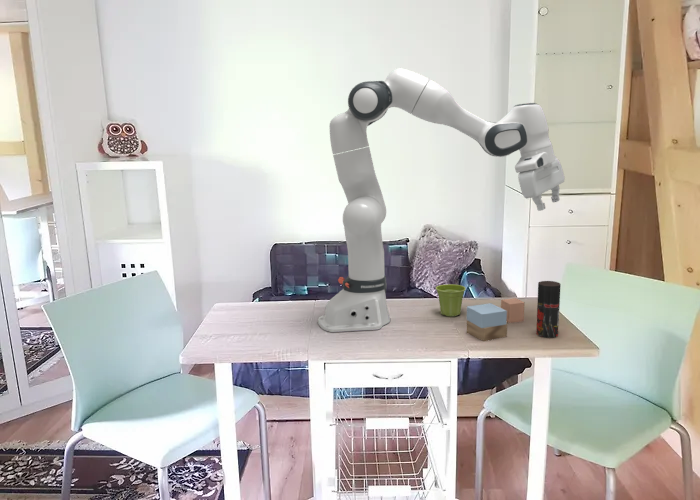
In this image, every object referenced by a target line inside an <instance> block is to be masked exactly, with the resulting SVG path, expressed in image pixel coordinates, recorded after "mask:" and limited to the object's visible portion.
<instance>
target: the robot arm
mask: <svg viewBox="0 0 700 500" xmlns="http://www.w3.org/2000/svg"><path fill="white" fill-rule="evenodd" d="M348 94H349V95H348V98H347V106H348V109H347V111H344V112H342V113H339V114H337V115H335V116H334V117H333V118H332V119H331V120H330V122H329V141H330V147H331V153H332V156H333V157H332V158H333V162H334V165H335V169H336V174H337V178H338V182H339V183H340V186H341V187H342V190H343V191H344V192H343V193H344V194H345V195H344V196H345V197H346V201H347V205H346V206H345V207H344V210H343V213H342V224H343V229H344V236H345V237H344V238H345V241H346V249H347V259H348V260H347V261H348V265H347V266H348V276H347V277H346V278H345V277H343V276H339V278H338V279H337V281H338V283H339V284H340V285H342V289H341V290H340V291H339V292H338V293H336V294H335V295H334V296H333V297H331V298H330V299H329V300H328V301H327V302H326V304H325V310H324V315H321V316H319V317H318V318H317V319H318V320H317V324H318V326H319V327H320V328H321V329H322V330H323V331H327V332H330V333H338V332H339V333H341V332H342V333H343V332H356V331H372V330H373V331H375V330H380V329H382V327H383V326H386V325H387V324H389V323H390V322H391V318H390V314H389V310H388V303H387V297H386V294H387V277H386V275H385V250H384V244H383V236H382V224H383V223H384V221H385V219H386V217H387V208H386V207H387V206H386V204H385V203H386V202H385V200H384V196H383V193H382V192H383V191H382V189H381V187H380V183H379V180H378V179H377V178H378V177H377V175H376V174H377V173H376V170H375V165H374V161H373V158H372V153H371V148H370V144H369V140H368V134H367V130H368V129H367V128H368V127H369V126H370V125H372V124H373V123H376V122H377V121H379V120H381V119H382V118H383V117H385V115H386V114H387V113H388V112H387V111H389V110H388V109H390V108H398V109H401V110H402V111H405V112H407V113H408V114H410V115H411V116H414V117H416V118H419V120H420V119H421V120H423V121H425V122H428V123H432V124H437V125H444V126H446V127H450V128H453V129H455V130H457V131H458V132H460V133H462V134H464V135H466V136H468V137H470V138H471V139H473V140H475V141H476V142H477V143H478V144H479V145H480V146H481V147H480V148H482V150H483V151H484V152H485V153H486V154H488V155H489V156H492V157H498V158H503V157H507V156H510V155H511V154H513V153H515V152H517V151H519V152H520V158H519V160H518V161H517V162H516V164H515V165H514V169H515V172H516V173H518V176H517V177H518V178H517V179H518V183H519V188H520V192H521V194H522V196H523V197H524V199H526V200H527V199H532V201H533V202H534V204H535V206H536V208H537V211H538V212H539V211H543V210H545V209H546V204H545V202H543V200H542V195H543V194H544V193H546V192H548V191H549V190H550V191H551V197H550V200H551V202H552V203H558V202H559V201H560V185H561V184H563V183H564V182H565V180H566V179H565V178H566V177H565V174H564V170H563V167H562V164H561V162H560V160H559V159H558V158H557V156H556V155H555V152H554V147H553V143H552V142H551V140H550V139H551V138H550V136H549V132H550V131H549V125H548V122H547V121H548V120H547V117H546V115H545V111H544V109H543V108H542V106H541V105H540V104H538V103H536V102H528V103H527V102H526V103H519V104H515V105H513V106H512V107H511V109H510V111H509V112H507V114H505V115H504V116H503V117H501V118H500V120H498V121H494V122H493V121H488V120H486V119H483V118H481V117H480V116H478V115H476V114H474V113H473V112H470V111H469V110H467V109H465V108H464V107H462V106H461V105H460V104H459V103H458V102H457V101H456V99H455V98H454V96H453V95H452V94H451V92H450V91H448V90H447V88H445V87H443V86H442V85H441V84H440V83H438V82H437V81H434V80H432V79H431V78H430V77H427V76H425V75H423V74H421V73H419V72H416V71H413V70H410V69H406V68H403V67H396V68H394V69H393V70H392V71H391V72H389V73H388V75H387V77H386V78H385V80H384V81H383V80H372V81H371V80H370V81H363V82H359V83H358V84H356V85H355V86H354V87H352V88H351V90H350V92H349V93H348Z"/></svg>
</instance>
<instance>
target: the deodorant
mask: <svg viewBox="0 0 700 500" xmlns="http://www.w3.org/2000/svg"><path fill="white" fill-rule="evenodd" d="M537 283H538V284H537V306H536V307H537V308H536V330H535V331H536V333H535V334H536V336H538V337H541V338H543V339H555V338H557V337H558V336H559V321H560V304H561V301H560V300H561V283H560V282H558V281H553V280H541V281H539V282H537Z"/></svg>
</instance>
